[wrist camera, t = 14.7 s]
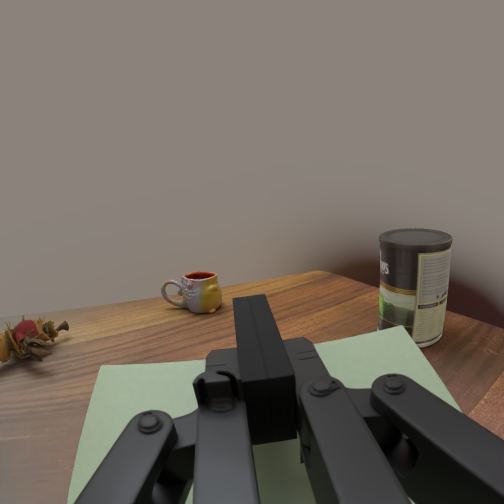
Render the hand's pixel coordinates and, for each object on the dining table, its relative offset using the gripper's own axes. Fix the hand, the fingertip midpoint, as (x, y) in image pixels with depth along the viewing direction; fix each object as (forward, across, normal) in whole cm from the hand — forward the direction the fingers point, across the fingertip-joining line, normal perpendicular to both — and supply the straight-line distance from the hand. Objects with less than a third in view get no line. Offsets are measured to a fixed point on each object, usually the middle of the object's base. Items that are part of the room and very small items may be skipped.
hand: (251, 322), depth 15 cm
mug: (+43, -9, -16) cm, 47 cm away
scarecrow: (+25, -38, -16) cm, 48 cm away
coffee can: (+21, +24, -16) cm, 35 cm away
